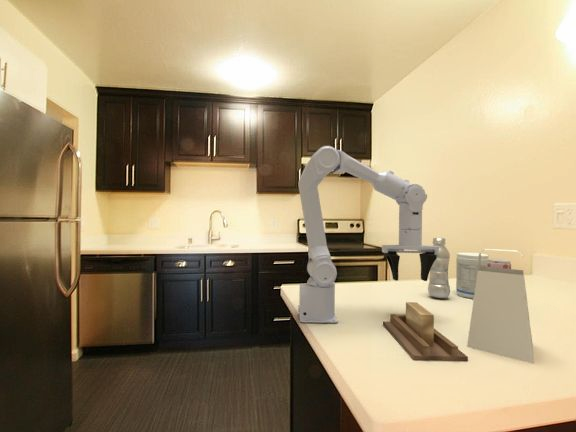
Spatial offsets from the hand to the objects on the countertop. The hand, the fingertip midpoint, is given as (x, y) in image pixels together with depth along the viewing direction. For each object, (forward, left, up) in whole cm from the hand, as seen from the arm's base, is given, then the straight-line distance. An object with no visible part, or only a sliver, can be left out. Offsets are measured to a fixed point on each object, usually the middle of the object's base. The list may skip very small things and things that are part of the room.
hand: (409, 280), depth 78 cm
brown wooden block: (-4, -15, -9) cm, 18 cm away
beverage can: (+28, +6, -10) cm, 30 cm away
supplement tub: (+31, +23, -10) cm, 40 cm away
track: (-4, -15, -10) cm, 18 cm away
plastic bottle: (+18, +20, -10) cm, 29 cm away
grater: (+12, -17, -10) cm, 23 cm away
